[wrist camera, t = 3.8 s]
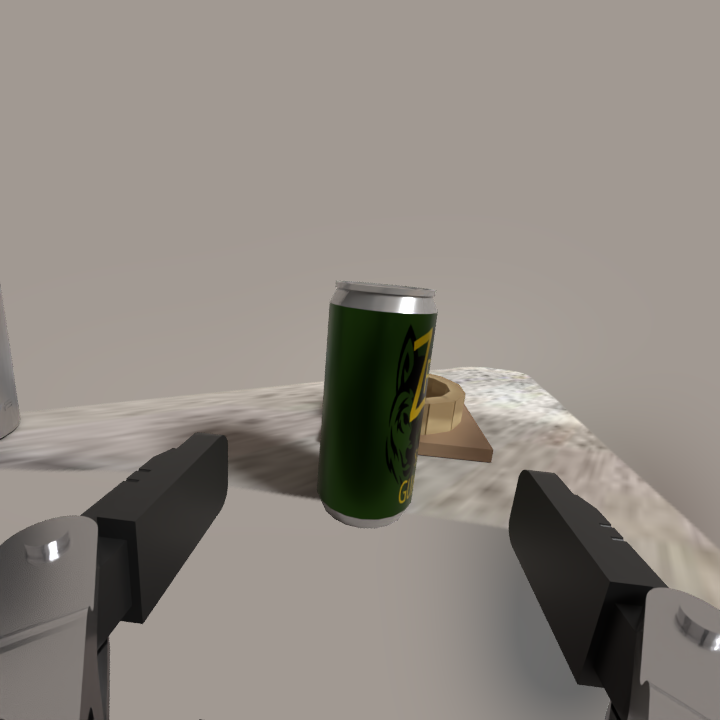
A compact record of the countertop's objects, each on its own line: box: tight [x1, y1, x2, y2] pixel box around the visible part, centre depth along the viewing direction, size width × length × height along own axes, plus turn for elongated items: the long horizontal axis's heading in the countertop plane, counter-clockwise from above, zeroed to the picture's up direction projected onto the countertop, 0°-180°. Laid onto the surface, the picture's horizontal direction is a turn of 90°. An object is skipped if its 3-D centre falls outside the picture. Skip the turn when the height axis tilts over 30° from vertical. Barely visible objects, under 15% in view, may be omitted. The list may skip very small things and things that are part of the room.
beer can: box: [317, 281, 438, 528], centre depth 19 cm, size 5×5×12 cm
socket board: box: [418, 374, 493, 462], centre depth 31 cm, size 12×12×4 cm
